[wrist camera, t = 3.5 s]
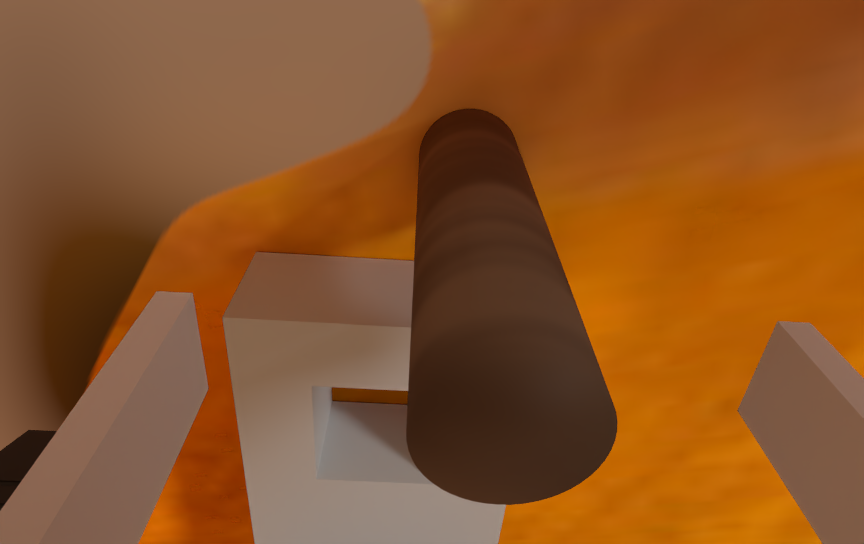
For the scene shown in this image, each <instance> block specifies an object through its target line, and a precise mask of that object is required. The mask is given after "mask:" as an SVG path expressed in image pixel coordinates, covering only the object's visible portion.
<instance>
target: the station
mask: <svg viewBox="0 0 864 544" xmlns="http://www.w3.org/2000/svg"><path fill="white" fill-rule="evenodd" d="M413 278H414V261H408V260H390V259H373V258H356V257H339V256H322V255H304V254H287V253H270V252H256V253H255V255H254V257H253V259H252V261H251V263H250V265H249V267H248V269H247V270H246V272H245V274H244V276H243V278H242V280H241V282H240V284H239V286H238V288H237V290H236V292H235V294H234V296H233V298H232V300H231V302H230V303H229V305H228V307H227V309H226V311H225V313H224V315H223V317H222V319H223V326H224V333H225V340H226V347H227V354H228V361H229V368H230V375H231V382H232V389H233V396H234V403H235V410H236V417H237V424H238V431H239V438H240V445H241V452H242V459H243V466H244V473H245V480H246V487H247V494H248V501H249V508H250V515H251V522H252V529H253V536H254V543H255V544H498V541H499V536H500V531H501V526H502V521H503V517H504V512H505V507H506V505H497V504H486V503H480V502H474V501H470V500H467V499H463V498H460V497H458V496H455V495H452V494H450V493H448V492H446V491H444V490H442V489H440V488H439V487H438V486H436V485H435V484H433V483H432V482H430V481H429V480H428V479H427V478H426V477H425V476H424V475H423V474H422V473H421V472H420V471H419V469H418V468H417V467H416V465H415V463H414V462H413V460H412V458H411V456H410V453H409V451H408V446H407V442H406V424H407V405H401V404H380V403H360V402H339V401H332V387H338V388H358V389H378V390H398V391H408V382H409V361H410V340H411V320H412V299H413Z"/></svg>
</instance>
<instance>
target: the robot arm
mask: <svg viewBox="0 0 864 544" xmlns="http://www.w3.org/2000/svg"><path fill="white" fill-rule="evenodd" d="M208 389H209V388H208V382H207V376H206V370H205V364H204V358H203V352H202V346H201V340H200V334H199V328H198V322H197V316H196V310H195V304H194V298H193V293H184V292H163V291H157V292H156V293H155V294H154V296H153V297H152V299H151V300H150V301H149V303H148V304H147V306H146V307H145V308H144V310H143V311H142V313H141V314H140V315H139V317H138V318H137V320H136V321H135V322H134V324H133V325H132V327H131V328H130V329H129V331H128V332H127V334H126V335H125V337H124V338H123V339H122V341H121V342H120V344H119V345H118V346H117V348H116V349H115V351H114V352H113V353H112V355H111V356H110V358H109V359H108V360H107V362H106V363H105V365H104V366H103V367H102V369H101V370H100V372H99V373H98V374H97V376H96V377H95V379H94V380H93V381H92V383H91V384H90V386H89V387H88V388H87V390H86V391H85V393H84V394H83V395H82V397H81V398H80V400H79V401H78V402H77V404H76V406H75V407H74V408H73V410H72V411H71V412H70V414H69V415H68V417H67V418H66V419H65V421H64V422H63V424H62V425H61V426H60V428H59V429H58V431H39V430H28V431H27V432H25V433H24V434H23V435H21V436H20V437H19V438H17V439H16V440H15V441H13V442H12V443H10V444H9V445H8V446H6V447H5V448H4V449H2V450H1V451H0V544H138V543H139V541H140V538H141V536H142V534H143V532H144V530H145V527H146V525H147V523H148V521H149V519H150V516H151V514H152V512H153V510H154V508H155V505H156V503H157V501H158V499H159V497H160V494H161V492H162V490H163V488H164V486H165V483H166V481H167V479H168V477H169V475H170V472H171V470H172V468H173V466H174V464H175V461H176V459H177V457H178V455H179V453H180V450H181V448H182V446H183V444H184V442H185V439H186V437H187V435H188V433H189V431H190V428H191V426H192V424H193V422H194V420H195V417H196V415H197V413H198V411H199V409H200V406H201V404H202V402H203V400H204V398H205V395H206V393H207V391H208ZM738 412H739V414H740V415H741V417H742V418H743V420H744V421H745V423H746V424H747V426H748V428H749V429H750V431H751V432H752V434H753V435H754V437H755V438H756V440H757V442H758V443H759V445H760V446H761V448H762V449H763V451H764V453H765V454H766V456H767V457H768V459H769V460H770V462H771V463H772V465H773V467H774V468H775V470H776V471H777V473H778V474H779V476H780V478H781V479H782V481H783V482H784V484H785V485H786V487H787V488H788V490H789V492H790V493H791V495H792V496H793V498H794V499H795V501H796V503H797V504H798V506H799V507H800V509H801V510H802V512H803V513H804V515H805V517H806V518H807V520H808V521H809V523H810V524H811V526H812V527H813V529H814V531H815V532H816V534H817V535H818V537H819V538H820V540H821V542H822V543H823V544H864V379H863V377H862V376H861V375H860V374H859V373H858V372H857V371H856V370H855V369H854V368H853V367H852V366H851V365H850V364H849V363H848V362H847V361H846V360H845V359H844V358H843V357H842V356H841V355H840V354H839V352H838V351H837V350H836V349H835V348H834V347H833V346H832V345H831V344H830V343H829V342H828V341H827V340H826V339H825V338H824V337H823V336H822V335H821V334H820V333H819V332H818V331H817V330H816V328H815V327H814V326H813V325H812V324H811V323H801V322H780V321H778V322H777V324H776V326H775V328H774V331H773V333H772V335H771V337H770V340H769V342H768V344H767V346H766V348H765V351H764V353H763V355H762V357H761V360H760V362H759V364H758V366H757V368H756V371H755V373H754V375H753V377H752V379H751V382H750V384H749V386H748V388H747V391H746V393H745V395H744V397H743V399H742V402H741V404H740V406H739V408H738Z"/></svg>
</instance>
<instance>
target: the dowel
mask: <svg viewBox="0 0 864 544" xmlns="http://www.w3.org/2000/svg"><path fill="white" fill-rule="evenodd" d="M616 433H617V416H616V411H615V408H614V405H613V402H612V399H611V397H610V394H609V391H608V389H607V386H606V383H605V381H604V378H603V375H602V372H601V370H600V367H599V364H598V362H597V359H596V356H595V354H594V351H593V348H592V345H591V343H590V340H589V337H588V335H587V332H586V329H585V327H584V324H583V321H582V319H581V316H580V313H579V310H578V308H577V305H576V302H575V300H574V297H573V294H572V292H571V289H570V286H569V284H568V281H567V278H566V275H565V273H564V270H563V267H562V265H561V262H560V259H559V257H558V254H557V251H556V248H555V246H554V243H553V240H552V238H551V235H550V232H549V230H548V227H547V224H546V222H545V219H544V216H543V213H542V211H541V208H540V205H539V203H538V200H537V197H536V195H535V192H534V189H533V187H532V184H531V181H530V178H529V176H528V173H527V170H526V168H525V165H524V162H523V160H522V157H521V154H520V151H519V149H518V146H517V143H516V141H515V138H514V136H513V134H512V132H511V130H510V129H509V127H508V126H507V125H506V124H505V123H504V122H503V121H502V120H501V119H500V118H498V117H497V116H495V115H493V114H491V113H489V112H487V111H483V110H478V109H462V110H457V111H453V112H451V113H448V114H446V115H445V116H443V117H441V118H440V119H439V120H437V121H436V122H435V123H434V124H433V125H432V126H431V127H430V128H429V130H428V131H427V133H426V134H425V136H424V138H423V141H422V143H421V147H420V154H419V173H418V194H417V215H416V236H415V257H414V278H413V299H412V320H411V340H410V361H409V382H408V403H407V424H406V442H407V446H408V451H409V453H410V456H411V458H412V460H413V462H414V463H415V465H416V467H417V468H418V469H419V471H420V472H421V473H422V474H423V475H424V476H425V477H426V478H427V479H428V480H429V481H430V482H432V483H433V484H435V485H436V486H438V487H439V488H440V489H442V490H444V491H446V492H448V493H450V494H452V495H455V496H458V497H460V498H463V499H467V500H470V501H474V502H480V503H486V504H497V505H511V504H523V503H529V502H535V501H539V500H543V499H547V498H550V497H552V496H555V495H558V494H560V493H563V492H565V491H567V490H569V489H571V488H573V487H574V486H576V485H578V484H580V483H581V482H582V481H584V480H585V479H586V478H588V477H589V476H590V475H591V474H593V473H594V472H595V471H596V470H597V469H598V468H599V467H600V465H601V464H602V463H603V462H604V461H605V459H606V458H607V456H608V454H609V453H610V451H611V449H612V446H613V444H614V441H615V437H616Z"/></svg>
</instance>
